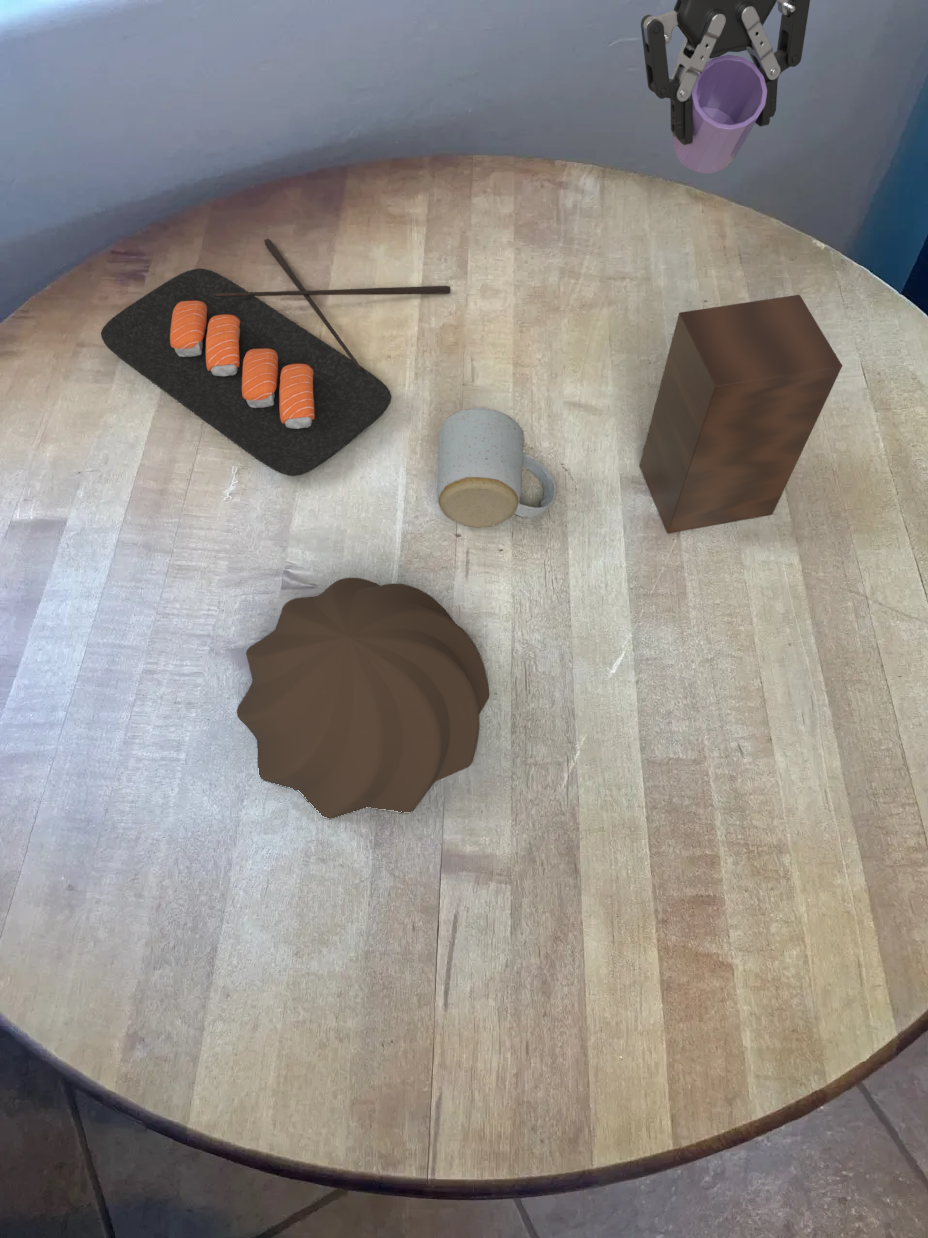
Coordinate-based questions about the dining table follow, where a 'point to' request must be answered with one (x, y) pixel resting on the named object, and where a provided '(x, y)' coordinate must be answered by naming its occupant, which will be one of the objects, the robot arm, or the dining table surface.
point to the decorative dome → (364, 697)
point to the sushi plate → (252, 366)
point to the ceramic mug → (486, 469)
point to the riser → (735, 410)
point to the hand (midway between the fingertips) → (722, 131)
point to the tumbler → (722, 112)
